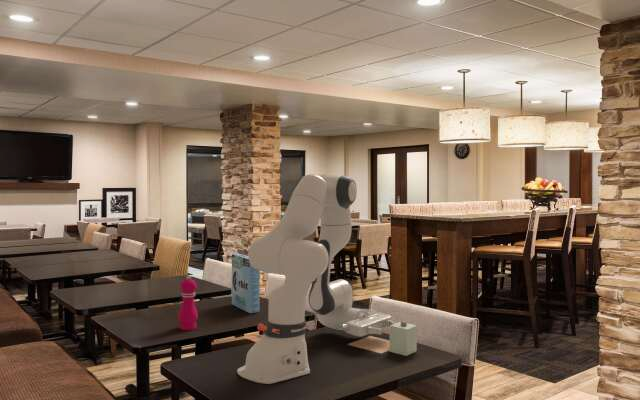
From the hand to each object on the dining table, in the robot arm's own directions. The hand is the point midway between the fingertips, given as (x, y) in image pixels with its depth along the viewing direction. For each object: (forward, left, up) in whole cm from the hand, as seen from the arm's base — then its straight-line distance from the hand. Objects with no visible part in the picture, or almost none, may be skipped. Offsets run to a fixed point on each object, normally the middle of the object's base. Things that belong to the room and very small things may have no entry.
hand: (389, 328), depth 185 cm
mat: (0, +5, -7) cm, 9 cm away
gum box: (+4, +76, -7) cm, 77 cm away
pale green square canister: (0, -6, -7) cm, 9 cm away
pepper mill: (-32, +68, -7) cm, 76 cm away
